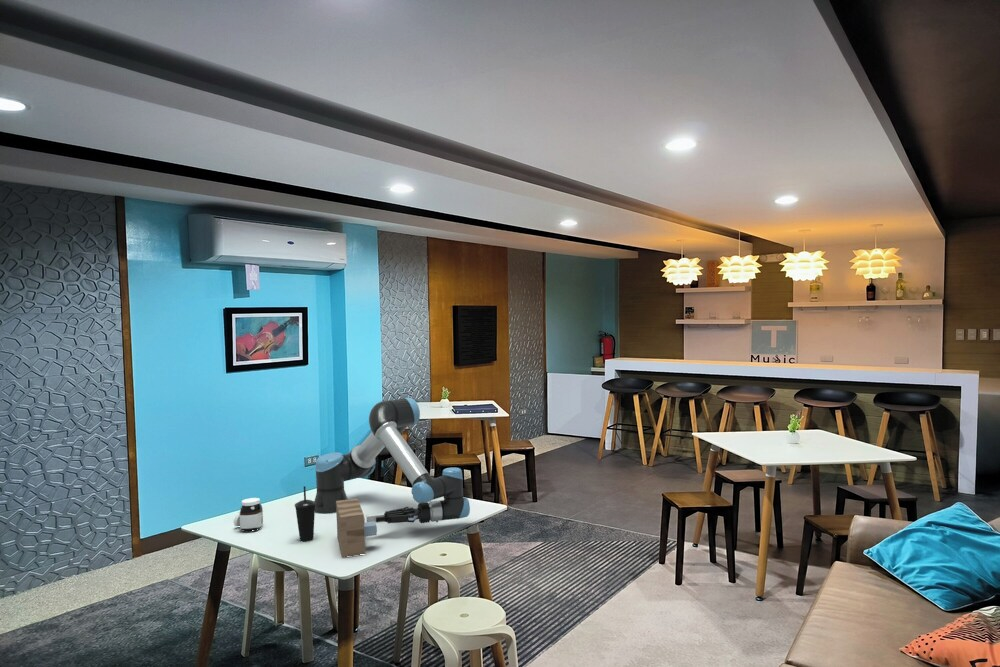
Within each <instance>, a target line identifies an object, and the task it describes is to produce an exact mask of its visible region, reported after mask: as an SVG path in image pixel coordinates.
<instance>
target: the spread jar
mask: <svg viewBox="0 0 1000 667" xmlns="http://www.w3.org/2000/svg"><path fill="white" fill-rule="evenodd" d="M263 512H264V511H263V506H262V504H261V499H260V498H259V497H250V498H245V499H243V500H241V507H240V511H239V512H237V514H236V515H235V517H234V519H233V526H235V527H236V526H240V527H239V528H240V530H241V531H242V530H244V531H252V530H257V529H260V528H261V527H262V528H263V526H264V513H263ZM262 528H261V529H262ZM261 529H260V530H261ZM244 531H243V532H244ZM257 531H258V530H257Z"/></svg>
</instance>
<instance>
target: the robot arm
mask: <svg viewBox="0 0 1000 667" xmlns="http://www.w3.org/2000/svg"><path fill="white" fill-rule="evenodd" d="M369 412H370V413H369V416H368V424H369V428H370V431H371V432H370V433H369V435H368V436H367V437H366V438H365V439H364V440H363V442H361V443H360V444H359V445H356V446H354V447H353V448H352V449H351V450H350V452H349V453H345V454H343V453H342V452H330V453H326V454H325V453H324V454H322V455H320V456H319V457H318V458H317V459H316V460H315V468H314V469H315V478H316V479H315V481H316V483H315V484H316V494H315V497H314V501H315V502H316V504H315V513H317V512H318V513H317V514H330V513H331V514H333V512H334V513H336V501H341V500H349V498H348V495H347V493H346V490H345V482H347V481H351V480H356V479H360V478H365V477H367V476H370V475H371V474H372V473H373V472H374V470H376V469H375V468H376V464H377V461H376V457H377V456H378V455H379V454H380V453H381V452H382V450H384V448H385V449H386V450H387V451H388V453H389V454H390V456H391V457H392V459H393V460H394V461H395V463H396V464H397V465H398V467H399V468H400V469H401V471H402V472H403V474H404V475H405V477H406V478H407V479H408V481H409V483H410V484H411V485H412V487H411V495H412V498H413V500H414V501H415V502H416V503H418V504H417V507H415V508H414V507H409V506H404V507H401V508H395V509H392V510H391V509H390V510H385V511H384V513H378V514H369V515H366V517H365V518H366V522H373V521H375V523H376V524H378V523H387V524H397V523H400V524H401V523H414V522H415V521H416V520H418V521H419V523H420V524H426V523H430V522H431V523H432V522H435V523H439V522H441V521H447V520H459V519H463V518H464V519H465V518H468V517H469V515H470V513H471V506H470V500H469V499H468V497H464V488H463V486H464V484H463V480H464V478H463V470H462V469H461V468H460V467H455V466H454V467H447V468H444V469H443V470H442V473H441V476H437V477H434V478H433V477H432V475H431V474H430V473H429V472H428V470H427V469H426V468H425V466H424V465H423V463H422V462H421V461H420V459H419V458H418V457H417V455H416V454H415V452H414V451H413V449H412V448H411V447H410V445H409V443H408V442H407V441H406V440H405V438H404V437H403V435H402V433H403V432H404V431H405V430H406V429H407V428H408V427H409V426H415V425H416V424H417V423H418V422H419V421H420V418H421V413H420V412H421V411H420V407H419V405H418V403H417V401H416V400H415V399H413V398H411V397H402V398H397V399H390V400H382V401H379V402H377V403H376V404H375V405H373V407H372V408H371V409H370V411H369ZM440 498H443V499H442V500H437V499H440Z"/></svg>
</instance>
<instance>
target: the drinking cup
mask: <svg viewBox="0 0 1000 667" xmlns="http://www.w3.org/2000/svg"><path fill="white" fill-rule="evenodd" d="M306 493H307V489H306V486H304V485H303V499H302V500H300V501H298V502H296V503H294V507H295V512H296V522H297V527H298V535H299V536H298V537H299V541H300V542H301V541H302V543H306V542H307V541H308V542H310V541H313V540H314V533H315V514H316V512H315V504H316V502H315V500H311V499H307V496H306V495H307V494H306ZM308 542H307V543H308Z"/></svg>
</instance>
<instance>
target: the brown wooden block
mask: <svg viewBox="0 0 1000 667" xmlns="http://www.w3.org/2000/svg"><path fill="white" fill-rule="evenodd" d="M335 513H336V533H337V534H336V536H337V542H338V547H339V551H340V552H339V553H340V557H345V558H348V557H347V556H352V557H355V556H354V555H359V556H361V555H360V554H365V555H366V540H365V539H366V537H365V534H364V518H365V514H364V512H363V509H362V507H361V504H360V501H359V499H358V498H351V499H349V498H348V500H341V501H336V512H335Z"/></svg>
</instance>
